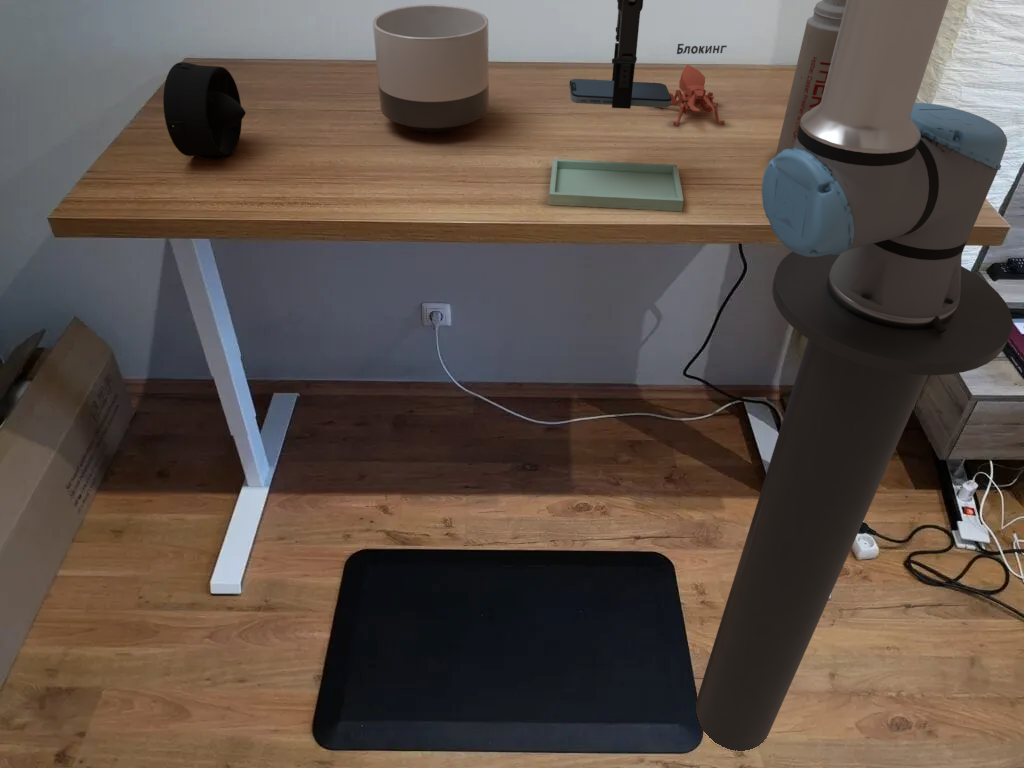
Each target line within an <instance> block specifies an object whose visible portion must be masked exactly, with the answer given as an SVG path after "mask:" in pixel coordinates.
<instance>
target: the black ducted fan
mask: <svg viewBox="0 0 1024 768" xmlns="http://www.w3.org/2000/svg"><path fill="white" fill-rule="evenodd" d="M162 98H163V99H162V100H163V102H162V103H163V114H164V115H163V116H164V121H165V126H166V130H167V132H168V135H169V137H170V140H171V142H172V144H173V145H174V147H175V149H176V150H178V152H179V153H181V154H182V155H184V156H187V157H198V158H199V159H206V160H222V159H227V158H229V157H231V156H232V155H233V154H234V152H235V150H236V149H237V147H238V144H239V142H240V137H241V134H242V133H241V132H242V125H243V122H242V121H243V119H244V117H245V115H246V114H247V113H246V111H245V109H244V107H243V106H242V103H241V102H242V101H241V97H240V93H239V89H238V87H237V83H236V81H235V79H234V77H233V75H232V74H231V73H230V71H229V70H228V69H227V68H225V67H224V66H219V65H202V64H201V65H200V64H195V63H191V62H183V61H180V62H177V63H175V64H174V65H172V67H170V69H169V70H168V73H167V76H166V78H165V82H164V86H163V97H162Z"/></svg>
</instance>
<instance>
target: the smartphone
mask: <svg viewBox="0 0 1024 768" xmlns="http://www.w3.org/2000/svg"><path fill="white" fill-rule="evenodd" d="M613 88H614V81H612V80H607V79H589V78H588V79H587V78H572V79H571V80H569V83H568V89H569V95H570V96H569V97H570V101H572V102H573V103H575V104H585V105H586V104H587V105H608V106H612V100H613ZM669 93H670V92H669V89H668V87H667V85H666V84H664V83H662V82H646V81H633V88H632V98H631V107H644V108H646V107H647V108H655V107H656V108H657V107H664V108H663V109H665V108H670V107H671V106H672V104H671V100H672V99H671V96H670V94H669Z"/></svg>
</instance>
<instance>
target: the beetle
mask: <svg viewBox="0 0 1024 768" xmlns="http://www.w3.org/2000/svg"><path fill="white" fill-rule="evenodd" d="M684 45H685V44H684V43H678V44H677V48H676V55H680V54H683V55H685V54H686V53H687V55H689V54H690V53H691V54H693V55H695V54H697V53H698V54H702V55H703V54H715V52H716V54H719V53H720V54H723V51H724V48H727V47H728V45H717V47H716V45H709V46H708V45H706V46H705V45H703V46H702V45H699V47H698V46H697V45H693V46H690V45H686V46H684ZM682 46H684V48H683V47H682ZM720 46H721V47H720ZM704 48H705V51H704ZM694 49H695V50H694ZM678 83H679V84H678V89H676V90H675V93H674V94H673V93H671V92H669V94H670V96H671V99H672V100H671V105H673V106H677V105H680V106H679V112H678V117H677V121H673V123H672V126H675V127H679V125H680V122H681V120H682V119H681V118H682V116H683V114H684V115H685V114H686V115H687V113H688V112H689V110H691V111H692V112H695V113H700V112H701V109H702V110H703V111H704V113H705V114H709V113H711V112H712V111H713V113H714V118H715V124H719V125H721V126H723V125H725V124H726V123H725V120H724V119H723V120H719V114H718V113H719V112H718V106H719V103H718V102H716V101H714V99H715V97H714V96H713V95H714V93H713V92H711V91H709V92H708V93H707V90H706V89H705V85H706V84H705V83H706V76H704V74H703V73H702V72H701V71H700V70H699V69H697V68H695V67H693V66H691V65H689V64H687V65H685V66H684V68H683V70H682V72H681V76H680V79H679V82H678ZM706 93H707V94H706ZM695 104H697V105H699V108H701V109H699V108H698V107H696V106H695ZM654 108H655V109H656V108H657V109H665V108H664V107H654Z"/></svg>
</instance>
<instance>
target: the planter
mask: <svg viewBox="0 0 1024 768" xmlns="http://www.w3.org/2000/svg"><path fill="white" fill-rule="evenodd" d="M372 31H373V39H374V41H373V42H374V51H375V52H374V53H375V61H376V62H375V65H376V74H377V84H378V95H379V106H380V111H381V114H382V115H383V116H384V117H385V118H387V119H388V120H390V121H392V122H394V123H397V124H400V125H403V126H406V127H409V128H411V129H413V130H417V131H421V132H425V133H444V132H449V131H452V130H456V129H458V128H460V127H463V126H465V125H466V124H470V123H473V122H475V121H478V120H479V119H481V118H483V117H484V116H485V115H486V114H487V113H488V111H489V109H490V77H489V75H490V69H489V68H490V67H489V60H490V59H489V58H490V57H489V51H490V50H489V45H490V44H489V19H488V17H486V15H485V14H483V13H481V12H480V11H477V10H475V9H472V8H467V7H463V6H458V5H457V6H456V5H449V4H417V5H407V6H400V7H396V8H392V9H389V10H386V11H384V12H381V13H380V14H377V16H375V17H374V19H373V20H372Z"/></svg>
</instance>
